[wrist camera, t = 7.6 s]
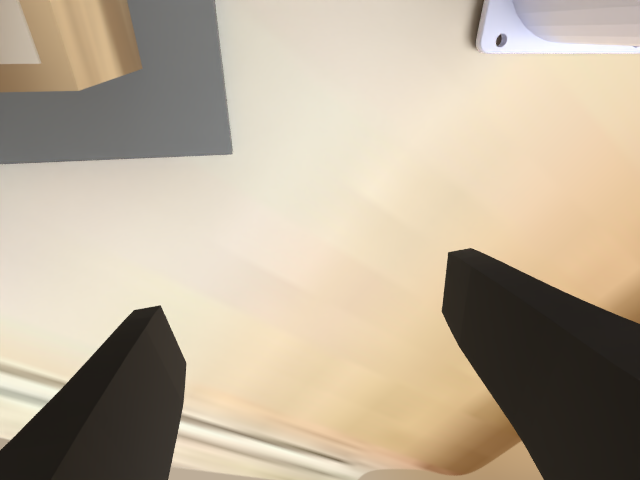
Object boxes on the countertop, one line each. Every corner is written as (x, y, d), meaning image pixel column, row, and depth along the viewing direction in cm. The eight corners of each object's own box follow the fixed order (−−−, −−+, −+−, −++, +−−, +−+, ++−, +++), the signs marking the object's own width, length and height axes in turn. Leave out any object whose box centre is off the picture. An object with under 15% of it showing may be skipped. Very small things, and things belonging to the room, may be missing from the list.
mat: (195, -160, 11) (192, -169, 11) (232, 150, 16) (232, 154, 16) (-180, -192, 10) (-203, -204, 9) (-11, 160, 15) (-20, 165, 14)
